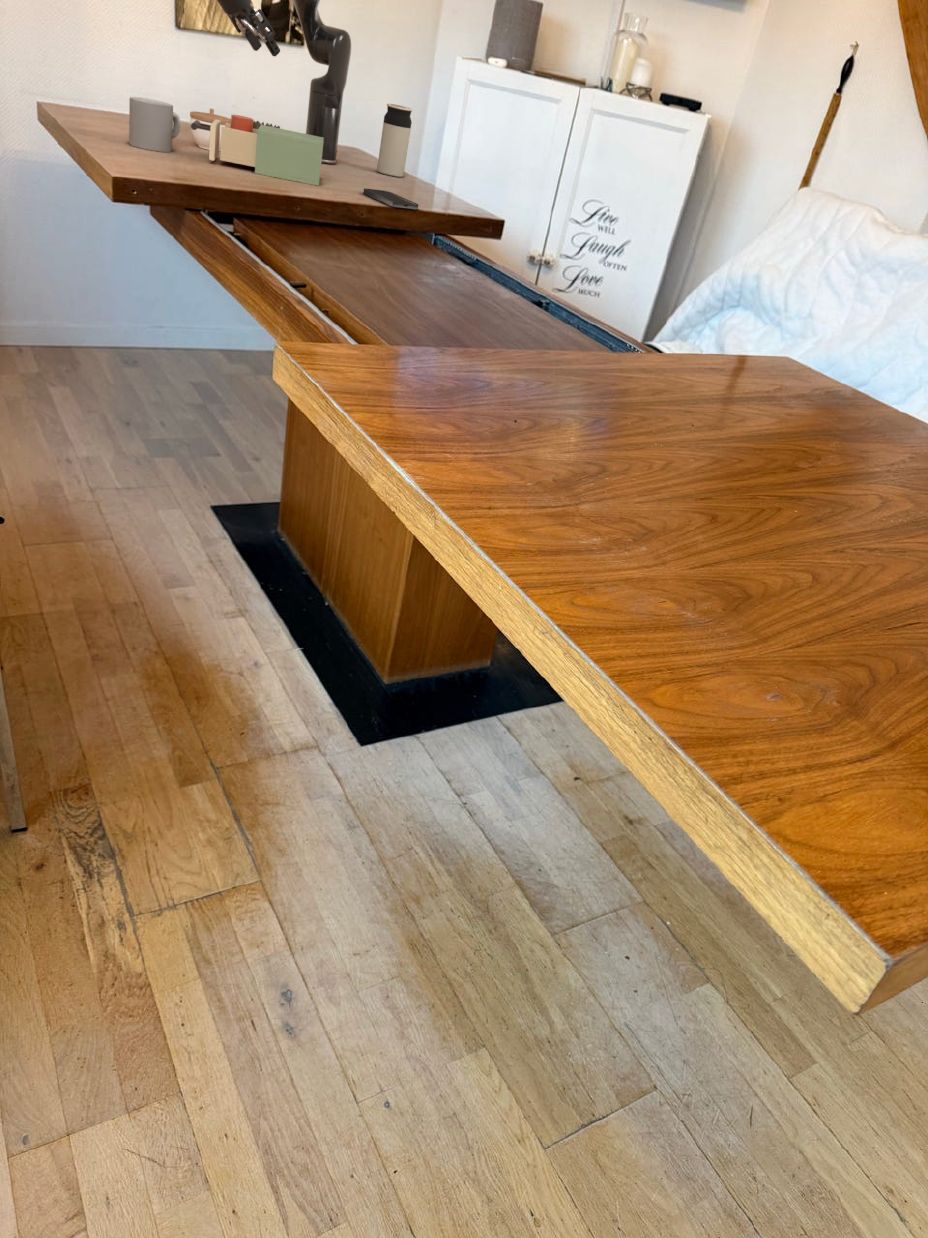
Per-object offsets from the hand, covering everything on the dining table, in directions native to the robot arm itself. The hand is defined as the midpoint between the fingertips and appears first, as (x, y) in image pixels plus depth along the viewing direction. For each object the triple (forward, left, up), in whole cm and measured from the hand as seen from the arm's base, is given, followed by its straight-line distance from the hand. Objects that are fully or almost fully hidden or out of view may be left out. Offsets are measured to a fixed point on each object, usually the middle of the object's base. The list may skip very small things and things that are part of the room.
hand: (267, 50), depth 218 cm
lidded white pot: (-21, -9, -26) cm, 34 cm away
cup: (-24, +6, -26) cm, 36 cm away
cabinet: (+5, +6, -26) cm, 27 cm away
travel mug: (-29, +45, -26) cm, 59 cm away
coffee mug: (-7, -24, -26) cm, 36 cm away
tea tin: (+2, -5, -24) cm, 24 cm away
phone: (+21, +28, -26) cm, 44 cm away
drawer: (+2, -7, -25) cm, 26 cm away
